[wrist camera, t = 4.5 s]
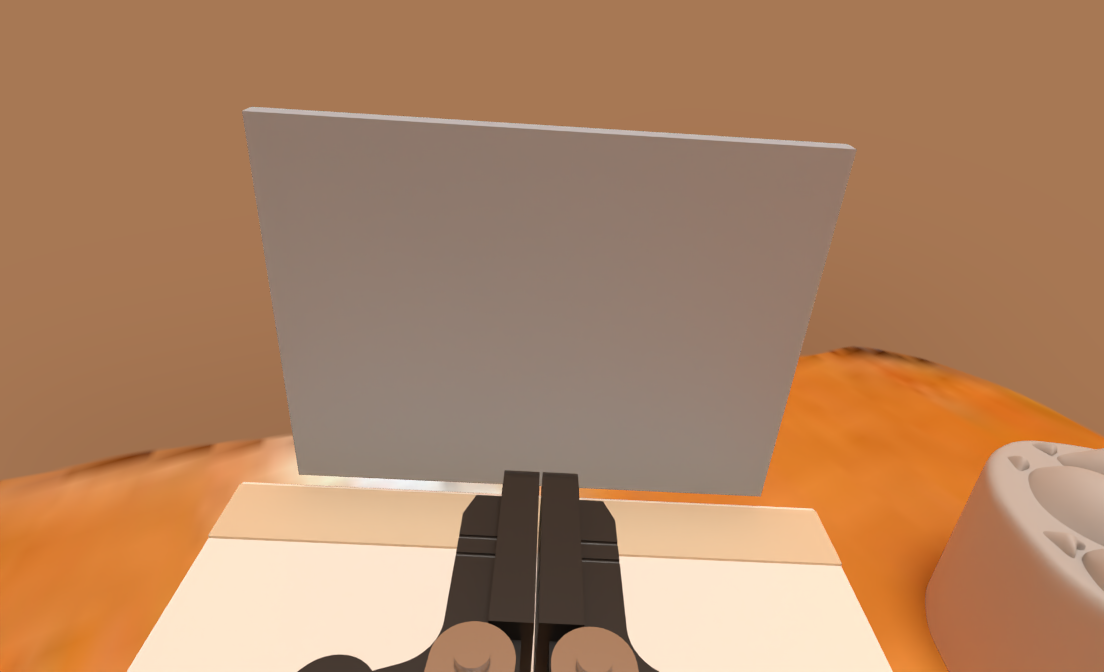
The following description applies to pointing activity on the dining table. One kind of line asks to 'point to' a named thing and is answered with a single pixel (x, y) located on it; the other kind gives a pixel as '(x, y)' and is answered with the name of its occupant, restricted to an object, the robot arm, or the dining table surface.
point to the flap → (539, 295)
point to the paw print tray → (1025, 566)
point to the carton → (425, 576)
